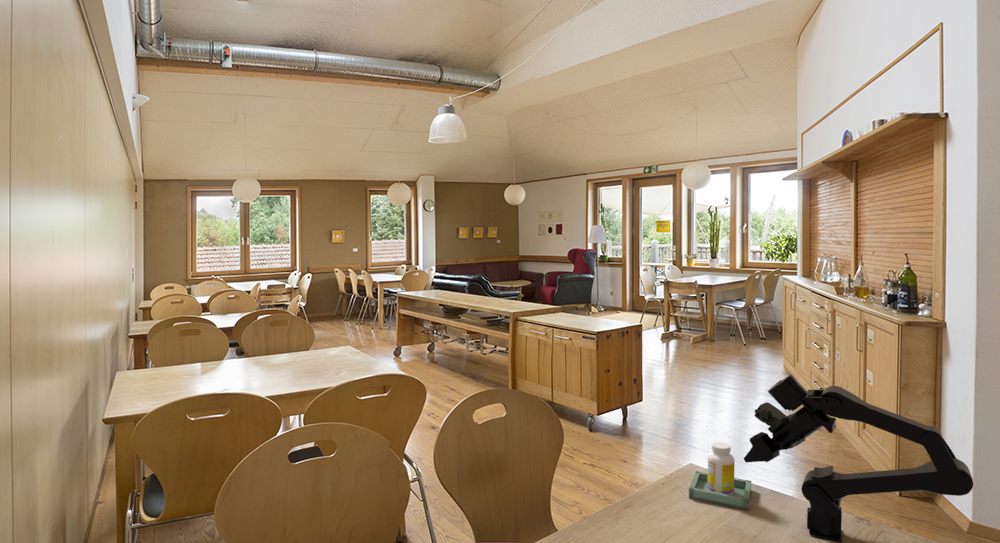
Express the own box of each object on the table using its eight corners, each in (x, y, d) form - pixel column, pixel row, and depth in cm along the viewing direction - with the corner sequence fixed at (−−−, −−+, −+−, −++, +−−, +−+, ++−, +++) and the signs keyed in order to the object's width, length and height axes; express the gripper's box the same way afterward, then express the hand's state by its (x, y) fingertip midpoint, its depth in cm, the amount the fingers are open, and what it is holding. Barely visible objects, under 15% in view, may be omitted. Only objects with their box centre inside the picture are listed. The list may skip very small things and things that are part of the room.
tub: (751, 489, 156) (751, 480, 156) (747, 509, 145) (748, 500, 145) (695, 479, 162) (696, 471, 162) (688, 498, 151) (688, 488, 151)
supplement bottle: (736, 490, 154) (737, 444, 153) (730, 500, 149) (731, 452, 148) (711, 484, 158) (712, 438, 157) (704, 493, 152) (705, 446, 152)
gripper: (794, 388, 145) (750, 419, 155) (759, 403, 134) (714, 436, 143) (826, 426, 140) (779, 457, 149) (792, 445, 128) (743, 477, 137)
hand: (754, 455), depth 145 cm, fingers open, 9 cm apart
